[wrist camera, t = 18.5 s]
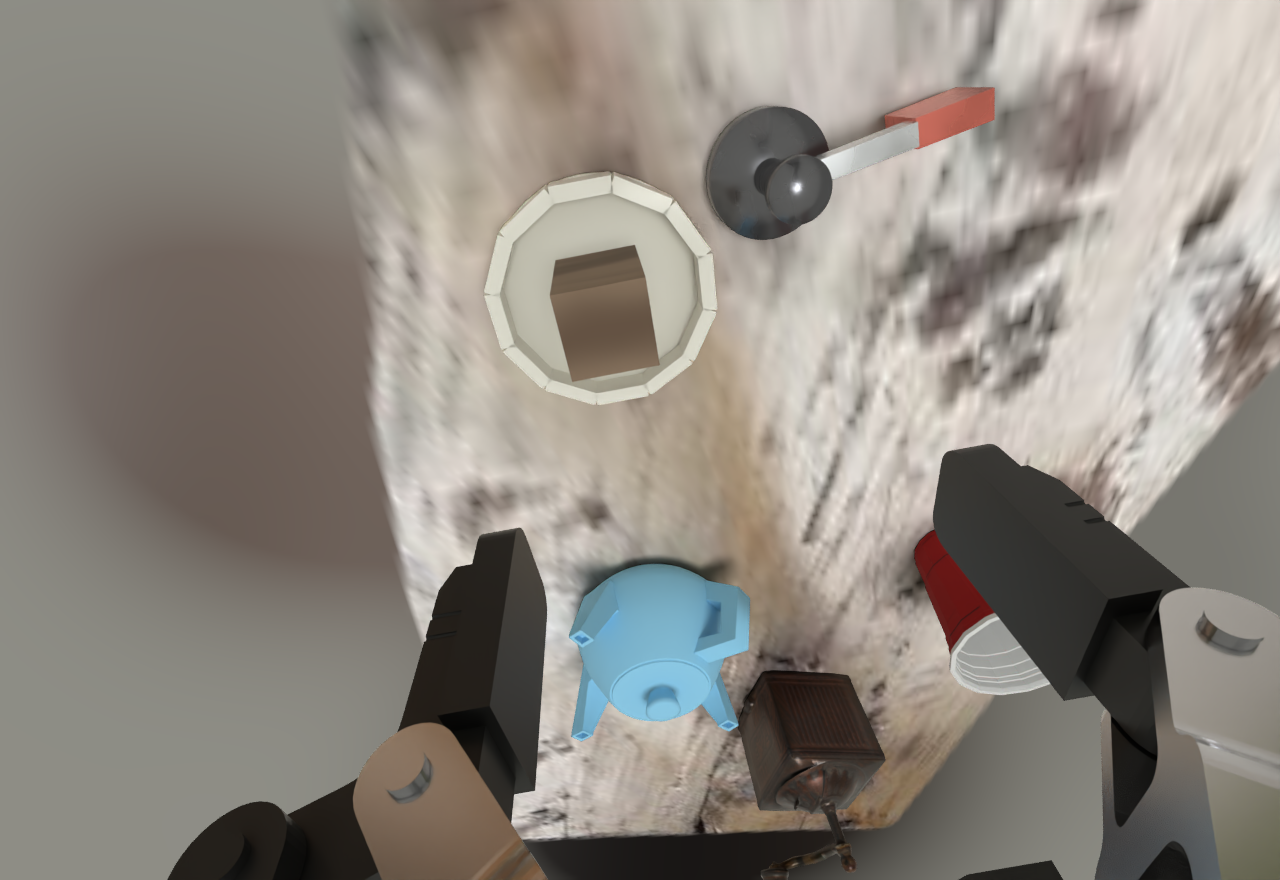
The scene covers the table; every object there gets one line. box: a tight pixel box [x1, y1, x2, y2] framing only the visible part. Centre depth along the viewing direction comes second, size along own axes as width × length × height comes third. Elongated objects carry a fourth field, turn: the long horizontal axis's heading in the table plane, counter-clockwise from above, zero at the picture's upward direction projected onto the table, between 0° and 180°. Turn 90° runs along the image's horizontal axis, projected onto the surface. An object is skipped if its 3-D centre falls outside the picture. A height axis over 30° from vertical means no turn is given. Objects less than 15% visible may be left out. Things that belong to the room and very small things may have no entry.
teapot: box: [569, 564, 750, 741], centre depth 49 cm, size 15×15×11 cm
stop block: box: [550, 245, 660, 382], centre depth 33 cm, size 5×5×7 cm
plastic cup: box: [914, 530, 1050, 695], centre depth 47 cm, size 11×11×12 cm
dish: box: [484, 171, 717, 405], centre depth 35 cm, size 14×14×3 cm
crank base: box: [706, 106, 832, 240], centre depth 31 cm, size 7×7×7 cm
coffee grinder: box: [738, 671, 885, 880], centre depth 57 cm, size 16×11×18 cm
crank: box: [815, 87, 994, 180], centre depth 30 cm, size 10×2×4 cm, turn 110°
